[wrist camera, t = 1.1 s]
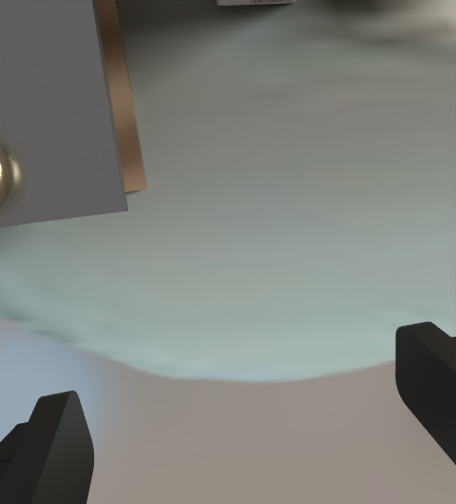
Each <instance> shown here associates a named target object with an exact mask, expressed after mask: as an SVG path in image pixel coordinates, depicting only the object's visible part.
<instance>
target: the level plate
mask: <svg viewBox="0 0 456 504" xmlns="http://www.w3.org/2000/svg"><path fill="white" fill-rule="evenodd" d="M121 211H128V206H127V199H126V193H125V186H124V180H123V174H122V167H121V161H120V154H119V148H118V141H117V135H116V129H115V122H114V116H113V109H112V103H111V96H110V90H109V83H108V77H107V71H106V64H105V58H104V51H103V45H102V38H101V32H100V26H99V19H98V13H97V6H96V0H0V227H2V226H10V225H18V224H26V223H34V222H42V221H50V220H58V219H66V218H74V217H82V216H90V215H98V214H106V213H114V212H121Z"/></svg>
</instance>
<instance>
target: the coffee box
mask: <svg viewBox="0 0 456 504" xmlns="http://www.w3.org/2000/svg"><path fill="white" fill-rule="evenodd" d="M295 1H297V0H216V3H217V5H220V6H228V5H255V4H280V3H294V2H295Z"/></svg>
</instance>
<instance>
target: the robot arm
mask: <svg viewBox="0 0 456 504" xmlns="http://www.w3.org/2000/svg"><path fill="white" fill-rule="evenodd" d="M395 377H396V385H397V389H398V392H399V394H400V396H401V398H402V400H403V401H404V403H405V405H406V406H407V407H408V408H409V409H410V411H411V412H412V413H413V414H414V415H415V417H416V418H417V419H418V420H419V422H420V423H421V424H422V425H423V426H424V427H425V429H426V430H427V431H428V432H429V434H430V435H431V436H432V437H433V438H434V439H435V441H436V442H437V443H438V444H439V446H440V447H441V448H442V449H443V450H444V452H445V453H446V454H447V455H448V456H449V458H450V459H451V460H452V461H453V462H454V463H455V465H456V337H450V336H449V335H448V334H446V333H445V332H444V331H442V330H441V329H440V328H438V327H437V326H436V325H435V324H433V323H432V322H428V321H427V322H422V323H417V324H412V325H407V326H402V327H399V328H398V329H397V331H396V374H395ZM93 469H94V449H93V443H92V439H91V436H90V432H89V429H88V426H87V422H86V419H85V416H84V413H83V409H82V406H81V403H80V399H79V397H78V394H77V393H76V392H75V391H68V392H63V393H58V394H52V395H48V396H42V397H40V398H39V399H38V401H37V404H36V406H35V408H34V410H33V412H32V414H31V417H30V419H29V421H28V422H26V423H21V424H17V425H16V426H15V428H14V429H13V430H12V431H11V432H10V433H9V434H8V435H7V436H6V437H5V438H4V439H3V440H2V441H1V442H0V504H86V503H87V498H88V493H89V489H90V483H91V479H92V474H93Z"/></svg>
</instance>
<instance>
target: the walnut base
mask: <svg viewBox="0 0 456 504" xmlns="http://www.w3.org/2000/svg"><path fill="white" fill-rule="evenodd" d="M96 6H97V13H98V19H99V26H100V32H101V38H102V45H103V51H104V58H105V64H106V71H107V77H108V83H109V90H110V96H111V103H112V109H113V116H114V122H115V129H116V135H117V141H118V148H119V154H120V161H121V167H122V174H123V180H124V186H125V192H131V191H139V190H146V188H147V186H146V180H145V174H144V168H143V162H142V156H141V150H140V143H139V137H138V131H137V125H136V119H135V113H134V107H133V101H132V95H131V89H130V82H129V76H128V70H127V64H126V58H125V52H124V46H123V40H122V34H121V28H120V21H119V15H118V9H117V3H116V0H96Z"/></svg>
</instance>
